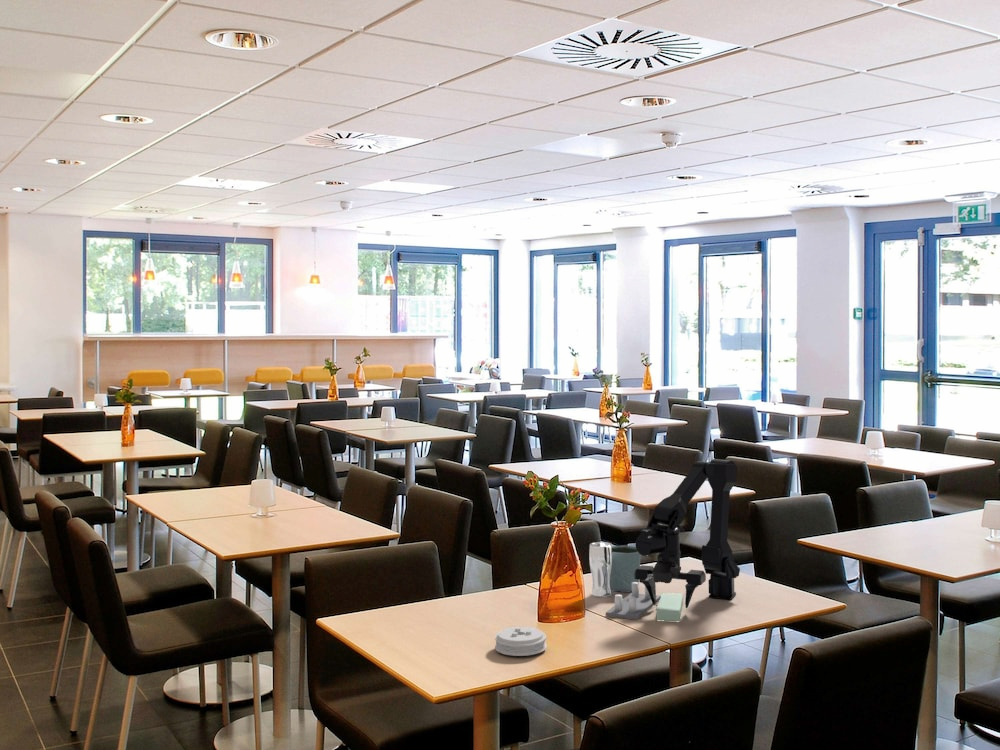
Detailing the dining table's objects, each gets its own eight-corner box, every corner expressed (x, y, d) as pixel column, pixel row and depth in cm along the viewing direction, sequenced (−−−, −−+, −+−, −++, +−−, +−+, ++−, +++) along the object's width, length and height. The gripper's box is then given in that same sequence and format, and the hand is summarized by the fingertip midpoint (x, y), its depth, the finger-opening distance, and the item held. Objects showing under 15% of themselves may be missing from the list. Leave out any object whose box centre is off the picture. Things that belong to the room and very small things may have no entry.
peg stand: (660, 599, 267) (660, 582, 267) (637, 619, 248) (636, 601, 248) (631, 596, 271) (630, 579, 271) (605, 616, 252) (605, 597, 252)
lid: (553, 655, 222) (553, 635, 222) (503, 662, 219) (503, 641, 219) (537, 639, 235) (536, 620, 234) (489, 646, 231) (488, 626, 231)
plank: (683, 604, 263) (683, 593, 262) (679, 623, 245) (679, 612, 245) (662, 603, 264) (661, 593, 264) (656, 622, 247) (656, 611, 247)
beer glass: (615, 597, 270) (613, 546, 269) (591, 598, 270) (589, 547, 269) (612, 591, 277) (611, 541, 276) (589, 591, 277) (588, 542, 276)
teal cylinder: (605, 584, 284) (604, 546, 284) (637, 583, 285) (636, 544, 285) (612, 593, 274) (611, 553, 274) (645, 591, 275) (645, 551, 275)
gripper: (627, 553, 251) (628, 610, 252) (694, 559, 243) (695, 618, 243) (640, 544, 261) (641, 599, 262) (705, 550, 252) (706, 606, 253)
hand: (670, 606), depth 255 cm, fingers open, 9 cm apart
